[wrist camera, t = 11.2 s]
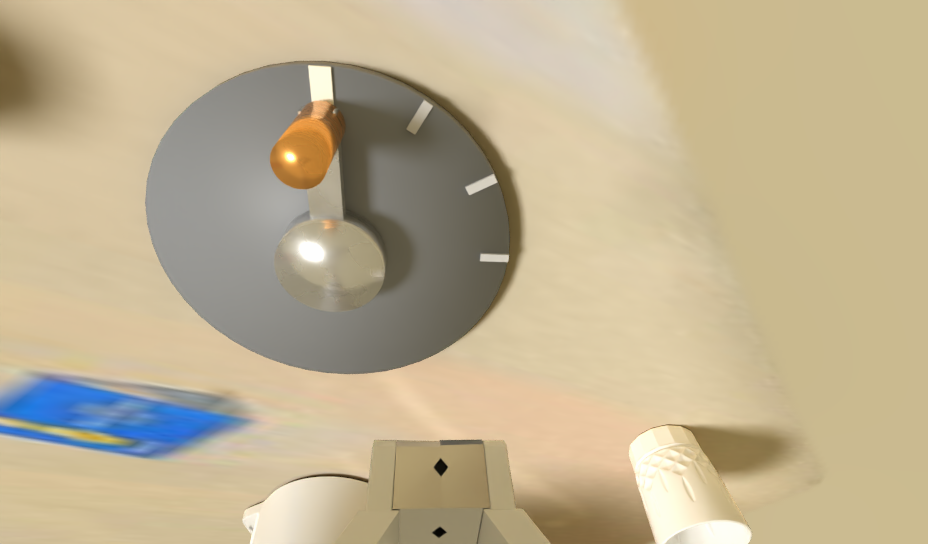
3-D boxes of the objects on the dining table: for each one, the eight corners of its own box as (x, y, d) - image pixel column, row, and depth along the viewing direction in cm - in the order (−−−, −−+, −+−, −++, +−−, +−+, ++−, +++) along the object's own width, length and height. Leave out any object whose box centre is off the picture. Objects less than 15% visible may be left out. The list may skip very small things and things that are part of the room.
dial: (387, 295, 35) (379, 357, 30) (289, 293, 35) (263, 355, 30) (384, 102, 28) (372, 141, 22) (257, 95, 27) (215, 132, 22)
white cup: (691, 464, 52) (739, 562, 44) (618, 471, 52) (653, 570, 44) (706, 416, 48) (763, 516, 40) (626, 424, 48) (666, 525, 40)
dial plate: (489, 366, 42) (490, 377, 41) (201, 360, 40) (194, 373, 39) (531, 75, 29) (535, 81, 28) (100, 45, 27) (85, 50, 25)
